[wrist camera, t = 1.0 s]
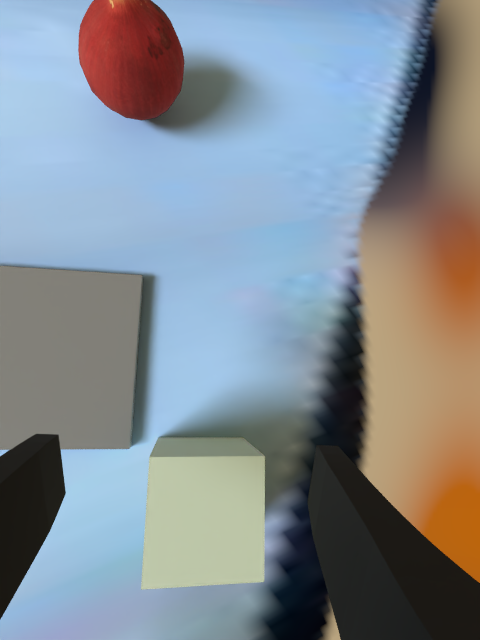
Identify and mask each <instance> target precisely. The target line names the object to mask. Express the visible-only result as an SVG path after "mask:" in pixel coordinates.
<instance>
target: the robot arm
mask: <svg viewBox="0 0 480 640" xmlns="http://www.w3.org/2000/svg"><path fill="white" fill-rule="evenodd" d="M65 494H66V492H65V484H64V476H63V467H62V459H61V451H60V442H59V435H57V434H35V435H33V436H31V437H30V438H28V439H26V440H25V441H23V442H22V443H20V444H19V445H17V446H15V447H14V448H12V449H11V450H9V451H8V452H6V453H5V454H3V455H2V456H0V619H1V617H2V616H3V614H4V612H5V610H6V608H7V607H8V605H9V603H10V601H11V600H12V598H13V596H14V594H15V593H16V591H17V589H18V587H19V585H20V584H21V582H22V580H23V578H24V577H25V575H26V573H27V571H28V570H29V568H30V566H31V564H32V562H33V561H34V559H35V557H36V555H37V553H38V552H39V550H40V548H41V546H42V544H43V543H44V541H45V539H46V537H47V535H48V533H49V532H50V529H51V527H52V525H53V523H54V520H55V518H56V516H57V513H58V511H59V508H60V506H61V503H62V501H63V498H64V496H65ZM308 508H309V514H310V521H311V527H312V533H313V539H314V543H315V546H316V550H317V554H318V558H319V561H320V565H321V569H322V572H323V576H324V580H325V583H326V587H327V590H328V594H329V598H330V601H331V605H332V608H333V612H334V616H335V619H336V623H337V626H338V630H339V634H340V638H341V640H480V583H479V582H477V581H476V580H475V579H473V578H472V577H471V576H470V575H469V574H467V573H466V572H465V571H464V570H463V569H461V568H460V567H459V566H458V565H457V564H455V563H454V562H453V561H452V560H451V559H450V558H448V557H447V556H446V555H445V554H443V553H442V552H441V551H440V550H439V549H438V548H437V547H436V546H434V545H433V544H432V543H431V542H430V541H429V540H428V539H427V538H426V537H424V536H423V535H422V534H421V533H420V532H419V531H418V530H417V529H416V528H415V527H414V526H413V525H412V524H411V523H410V522H409V521H408V520H407V519H406V518H405V517H403V516H402V515H401V514H400V512H399V511H397V509H396V508H394V507H393V505H391V503H390V502H388V500H387V499H386V498H385V497H384V496H383V495H382V494H381V493H380V492H379V491H378V490H377V489H376V488H375V487H374V486H373V485H372V483H371V482H370V481H369V480H368V479H367V478H366V477H365V476H364V475H363V473H362V472H361V471H360V470H359V469H358V468H357V467H356V466H355V465H354V463H353V462H352V461H351V460H350V459H349V458H348V457H347V456H346V454H345V453H344V452H343V451H342V450H341V449H340V448H339V447H338V446H325V445H317V446H316V452H315V458H314V465H313V471H312V477H311V484H310V490H309V496H308Z"/></svg>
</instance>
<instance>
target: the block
mask: <svg viewBox="0 0 480 640" xmlns="http://www.w3.org/2000/svg"><path fill="white" fill-rule="evenodd" d="M264 523H265V456H264V455H263V454H262V453H261V452H260V451H258V450H257V449H256V448H255V447H254V446H253V445H251V444H250V443H249V442H248V441H247V440H245V439H244V438H243V437H158V439H157V442H156V444H155V446H154V448H153V451H152V453H151V455H150V457H149V473H148V489H147V505H146V521H145V537H144V552H143V568H142V584H141V589H157V588H173V587H189V586H205V585H221V584H237V583H253V582H264Z"/></svg>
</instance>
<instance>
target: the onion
mask: <svg viewBox="0 0 480 640" xmlns="http://www.w3.org/2000/svg"><path fill="white" fill-rule="evenodd" d="M79 60H80V65H81V67H82V69H83V72H84V74H85V77H86V79H87V81H88V84H89V86H90V88H91V90H92V92H93V93H94V94H95V95H96V96H97V97H98V98H99V99H100V100H101V101H102V102H103V103H104V104H105V105H106V106H107V107H108V108H110V109H111V110H113V111H115V112H117V113H119V114H120V115H122V116H124V117H126V118H131V119H137V120H146V119H151V118H156V117H158V116H159V115H161V114H162V113H164V112H165V111H167V110H168V109H169V107H170V106H171V105H172V103H173V102H174V100H175V99H176V97H177V96H178V94H179V93H180V91H181V86H182V81H183V71H184V56H183V50H182V47H181V44H180V42H179V39H178V37H177V35H176V32H175V30H174V28H173V26H172V23H171V21H170V20H169V18H168V17H167V15H166V14H165V13H164V11H163V10H162V9H161V8H160V7H158V6H157V5H156V4H155V3H153V2H152V1H151V0H94V1H93V2H92V3H91V5H90V6H89V8H88V10H87V12H86V14H85V16H84V18H83V20H82V23H81V25H80V31H79Z"/></svg>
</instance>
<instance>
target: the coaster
mask: <svg viewBox="0 0 480 640" xmlns="http://www.w3.org/2000/svg"><path fill="white" fill-rule="evenodd" d="M142 291H143V277H142V275H132V274H116V273H101V272H86V271H70V270H55V269H40V268H25V267H9V266H0V450H11V449H12V448H14V447H15V446H17V445H19V444H20V443H22V442H23V441H25V440H26V439H28V438H30V437H31V436H33V435H35V434H57V435H59V442H60V449H130V447H131V442H132V428H133V415H134V401H135V387H136V373H137V360H138V346H139V332H140V318H141V305H142Z"/></svg>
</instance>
